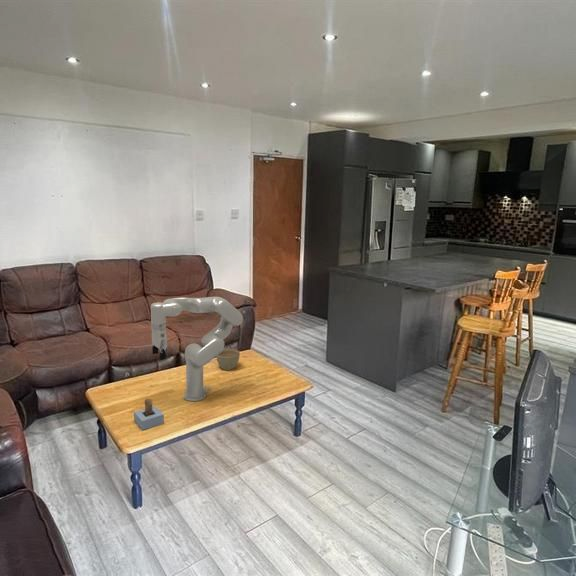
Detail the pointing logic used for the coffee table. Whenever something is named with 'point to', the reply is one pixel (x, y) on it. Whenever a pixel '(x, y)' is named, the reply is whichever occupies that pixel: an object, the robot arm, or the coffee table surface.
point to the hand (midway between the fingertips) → (159, 356)
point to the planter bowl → (228, 358)
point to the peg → (148, 407)
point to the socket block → (149, 418)
